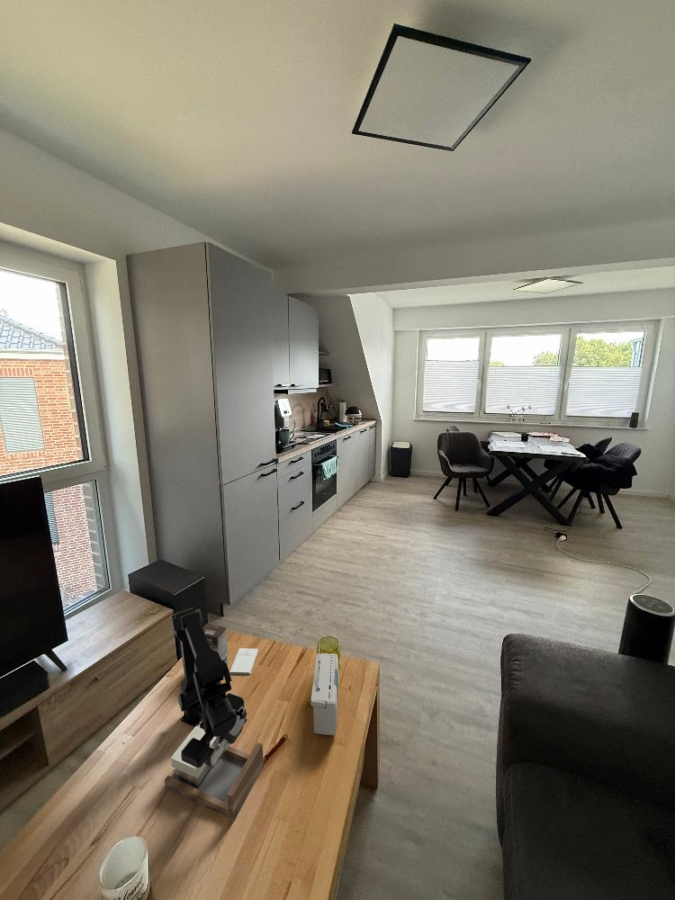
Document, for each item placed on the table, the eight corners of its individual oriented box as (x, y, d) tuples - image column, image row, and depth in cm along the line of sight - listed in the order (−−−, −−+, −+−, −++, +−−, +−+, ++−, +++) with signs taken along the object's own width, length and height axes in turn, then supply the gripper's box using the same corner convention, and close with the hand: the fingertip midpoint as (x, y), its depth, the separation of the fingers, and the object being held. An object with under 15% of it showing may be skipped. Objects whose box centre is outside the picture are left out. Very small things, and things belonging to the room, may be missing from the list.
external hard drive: (229, 675, 138) (239, 651, 150) (250, 676, 137) (258, 651, 149) (228, 671, 137) (238, 647, 149) (249, 672, 137) (258, 648, 149)
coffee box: (199, 669, 140) (196, 633, 136) (209, 657, 146) (206, 622, 142) (219, 674, 137) (216, 637, 134) (229, 662, 143) (226, 626, 140)
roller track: (165, 786, 99) (162, 763, 98) (200, 740, 112) (198, 718, 111) (234, 821, 91) (232, 796, 90) (263, 766, 104) (262, 744, 103)
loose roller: (203, 764, 96) (202, 752, 95) (219, 741, 101) (218, 730, 101) (215, 770, 94) (214, 758, 93) (231, 747, 100) (230, 735, 99)
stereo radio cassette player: (336, 738, 112) (336, 684, 109) (310, 737, 113) (309, 684, 109) (338, 683, 133) (338, 636, 129) (316, 682, 133) (316, 635, 129)
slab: (171, 766, 100) (170, 757, 99) (197, 733, 109) (196, 725, 108) (197, 778, 97) (196, 769, 96) (221, 743, 106) (220, 735, 105)
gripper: (213, 748, 83) (218, 801, 86) (258, 685, 100) (261, 731, 103) (176, 732, 87) (182, 783, 90) (226, 674, 104) (229, 719, 107)
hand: (217, 752), depth 98 cm, fingers closed on loose roller, 6 cm apart
